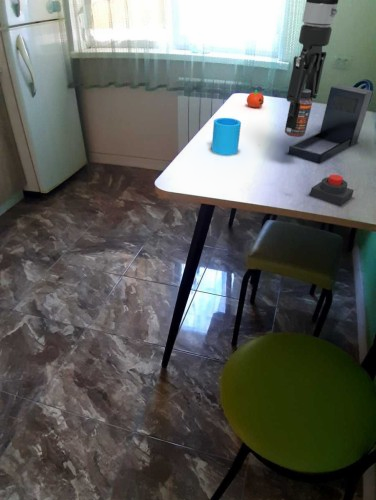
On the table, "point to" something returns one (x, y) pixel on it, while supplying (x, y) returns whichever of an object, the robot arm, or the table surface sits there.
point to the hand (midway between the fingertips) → (296, 125)
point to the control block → (332, 192)
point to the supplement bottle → (301, 115)
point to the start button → (335, 180)
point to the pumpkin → (255, 99)
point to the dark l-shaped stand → (337, 122)
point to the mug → (226, 136)
